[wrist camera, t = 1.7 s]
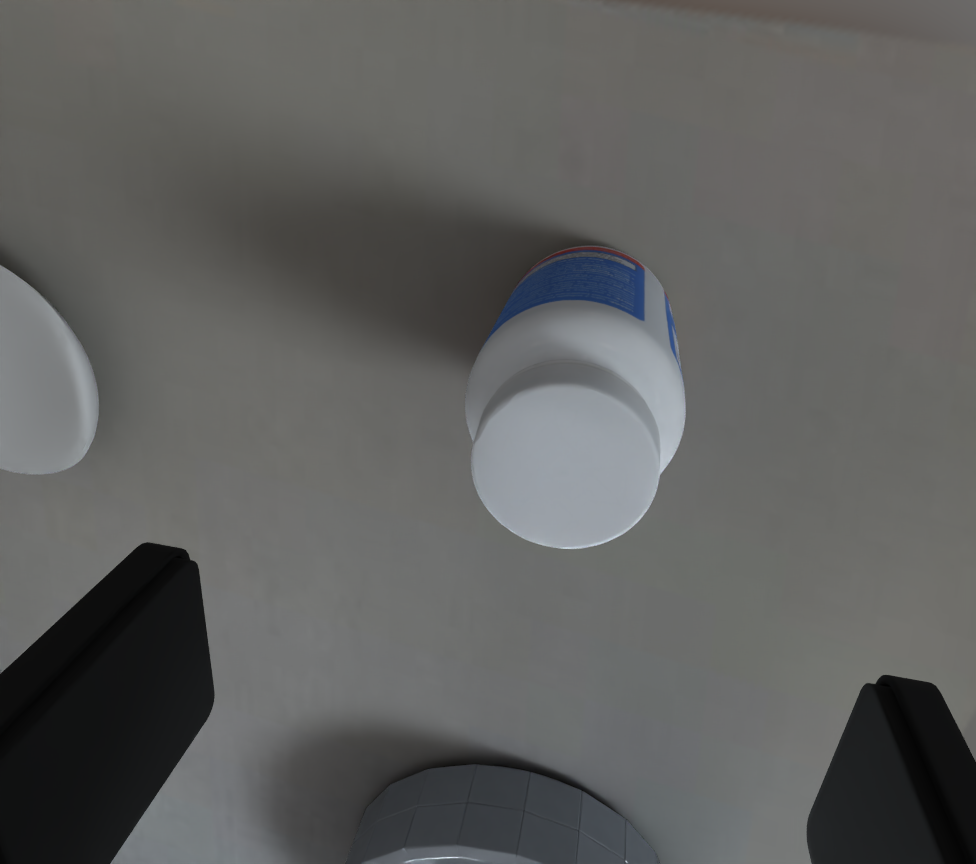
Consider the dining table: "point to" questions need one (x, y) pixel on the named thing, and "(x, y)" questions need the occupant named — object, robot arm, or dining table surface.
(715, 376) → the dining table surface
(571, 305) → the pill bottle
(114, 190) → the dining table surface
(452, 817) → the pan
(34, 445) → the spoon
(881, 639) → the dining table surface
